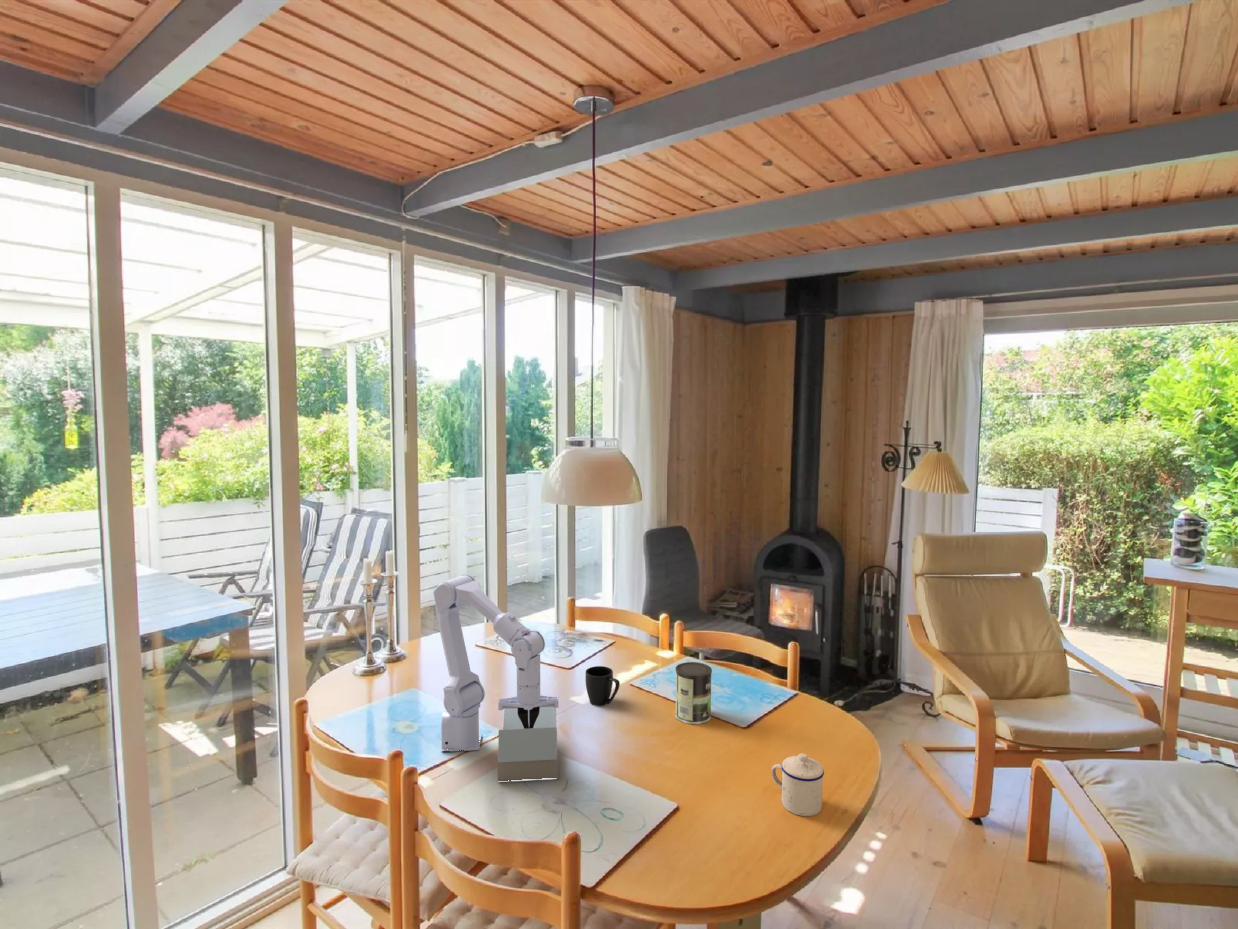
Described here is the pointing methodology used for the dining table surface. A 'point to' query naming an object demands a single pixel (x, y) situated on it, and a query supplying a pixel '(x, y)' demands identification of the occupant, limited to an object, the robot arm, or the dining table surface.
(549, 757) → the near flap
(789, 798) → the teacup with lid
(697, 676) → the coffee can
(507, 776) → the carton
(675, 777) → the dining table surface
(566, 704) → the dining table surface
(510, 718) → the far flap
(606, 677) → the mug
